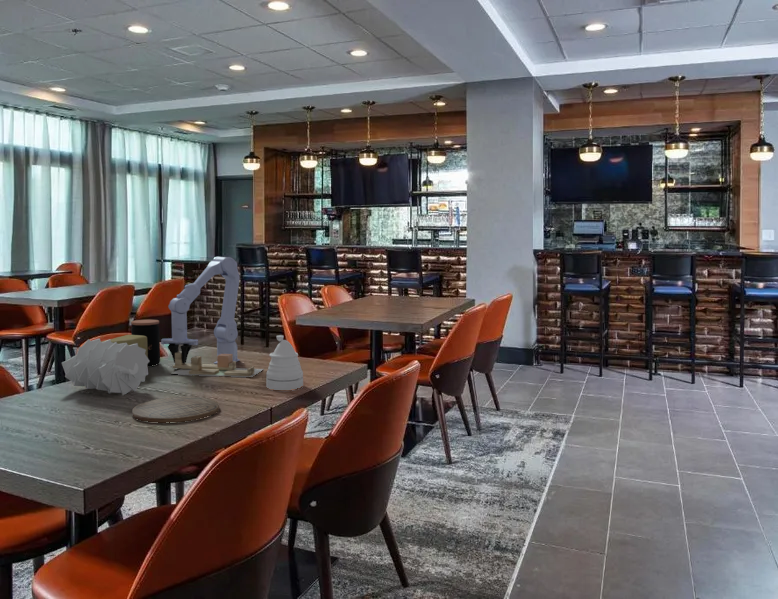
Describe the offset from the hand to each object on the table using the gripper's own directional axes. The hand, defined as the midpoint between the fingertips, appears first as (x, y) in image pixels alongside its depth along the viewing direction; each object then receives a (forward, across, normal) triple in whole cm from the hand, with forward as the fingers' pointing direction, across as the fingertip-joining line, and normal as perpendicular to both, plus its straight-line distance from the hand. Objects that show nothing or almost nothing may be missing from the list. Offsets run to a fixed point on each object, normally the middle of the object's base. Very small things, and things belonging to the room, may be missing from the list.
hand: (180, 362), depth 259 cm
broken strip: (+3, +20, -8) cm, 22 cm away
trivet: (+3, +26, -60) cm, 65 cm away
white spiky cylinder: (+3, -8, -38) cm, 39 cm away
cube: (+1, +18, 0) cm, 19 cm away
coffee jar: (+3, -17, +6) cm, 18 cm away
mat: (+3, +17, -4) cm, 18 cm away
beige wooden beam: (+3, +10, 0) cm, 10 cm away
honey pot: (+3, +49, -22) cm, 54 cm away
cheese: (+3, -15, -19) cm, 25 cm away
